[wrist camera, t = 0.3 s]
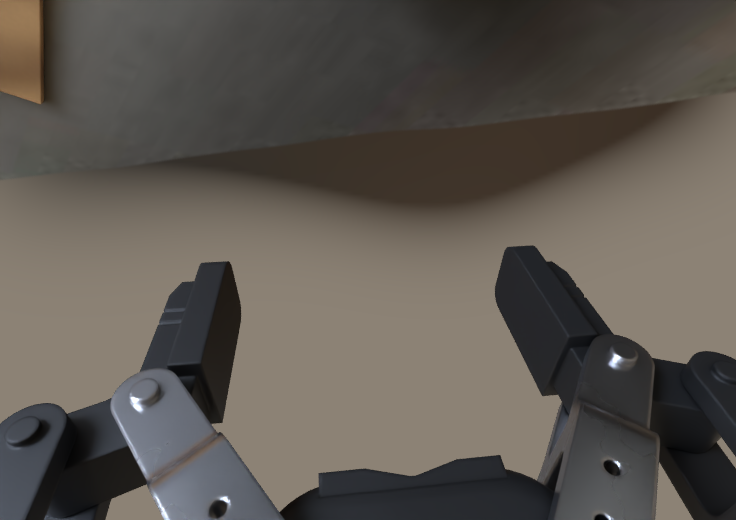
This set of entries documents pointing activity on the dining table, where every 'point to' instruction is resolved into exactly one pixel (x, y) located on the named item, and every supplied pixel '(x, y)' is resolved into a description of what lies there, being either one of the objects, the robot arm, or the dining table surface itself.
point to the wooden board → (22, 49)
